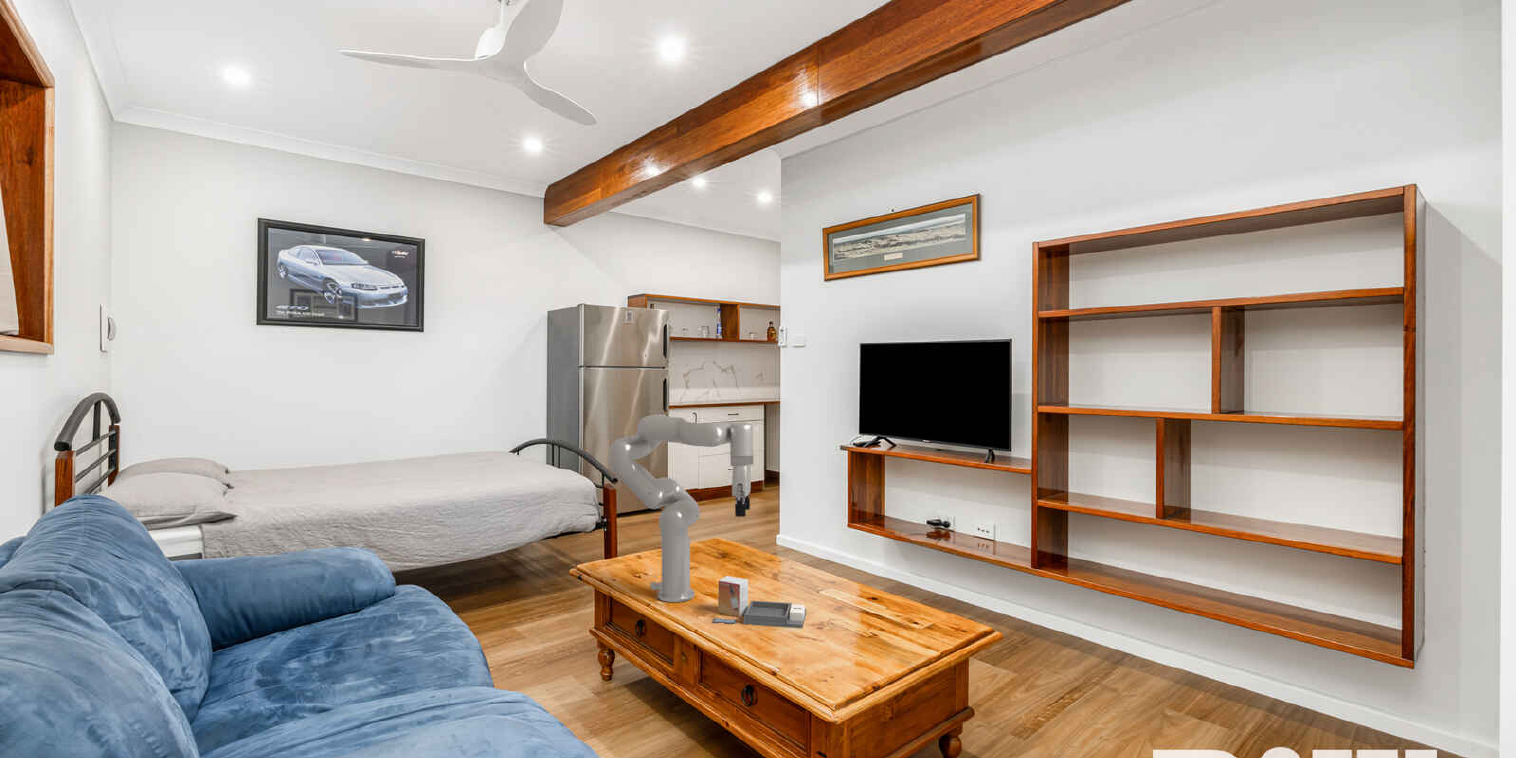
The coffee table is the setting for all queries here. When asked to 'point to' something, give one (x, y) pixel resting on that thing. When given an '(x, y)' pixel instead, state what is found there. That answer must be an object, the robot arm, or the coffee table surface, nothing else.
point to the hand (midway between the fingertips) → (742, 512)
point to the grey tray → (775, 614)
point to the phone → (724, 621)
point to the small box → (733, 596)
